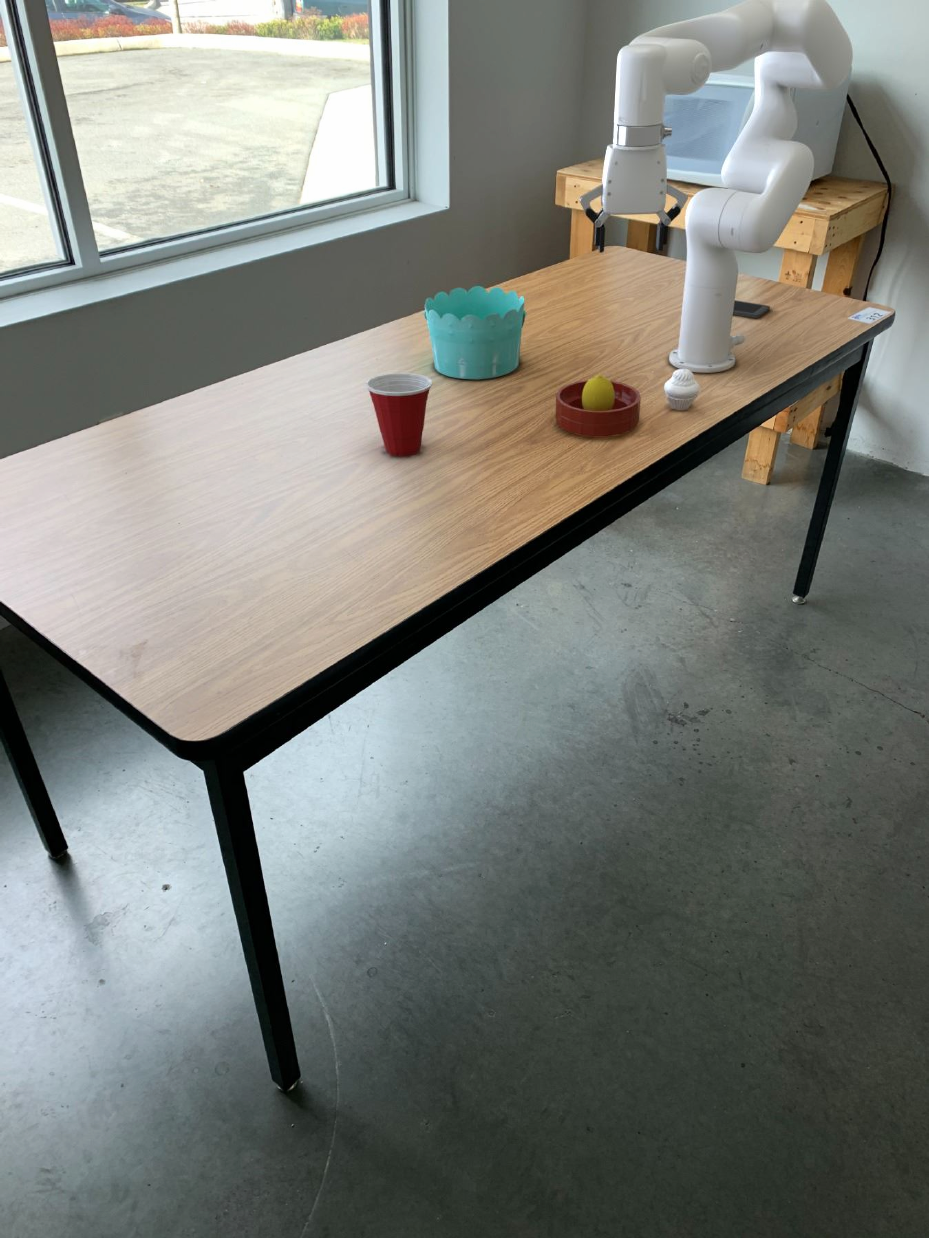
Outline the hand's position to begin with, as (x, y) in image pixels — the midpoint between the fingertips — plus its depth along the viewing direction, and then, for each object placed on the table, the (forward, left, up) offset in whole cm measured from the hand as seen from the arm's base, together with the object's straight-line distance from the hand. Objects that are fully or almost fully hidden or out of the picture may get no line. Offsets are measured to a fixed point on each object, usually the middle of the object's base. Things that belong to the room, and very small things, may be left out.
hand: (630, 250), depth 161 cm
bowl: (+10, +5, -26) cm, 29 cm away
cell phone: (-54, -22, -26) cm, 64 cm away
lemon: (+10, +5, -26) cm, 28 cm away
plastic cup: (+42, -7, -26) cm, 50 cm away
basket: (+10, -31, -26) cm, 42 cm away
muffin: (-6, +9, -26) cm, 29 cm away
